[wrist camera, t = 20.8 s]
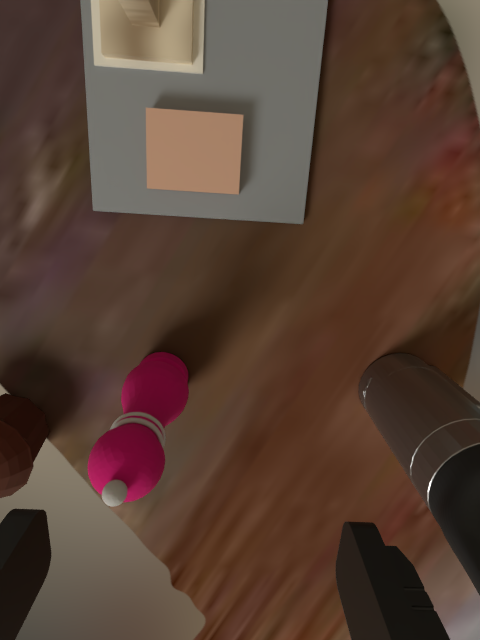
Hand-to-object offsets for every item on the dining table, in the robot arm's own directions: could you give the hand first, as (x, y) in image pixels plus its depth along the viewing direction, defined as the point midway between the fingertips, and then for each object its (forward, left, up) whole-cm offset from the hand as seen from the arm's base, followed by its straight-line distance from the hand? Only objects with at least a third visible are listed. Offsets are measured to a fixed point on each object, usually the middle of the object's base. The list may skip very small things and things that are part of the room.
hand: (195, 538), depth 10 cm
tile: (+8, -13, -31) cm, 35 cm away
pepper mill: (+7, +12, -33) cm, 36 cm away
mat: (+3, -19, -33) cm, 38 cm away
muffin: (+26, +20, -33) cm, 47 cm away
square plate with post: (+8, -24, -32) cm, 41 cm away
